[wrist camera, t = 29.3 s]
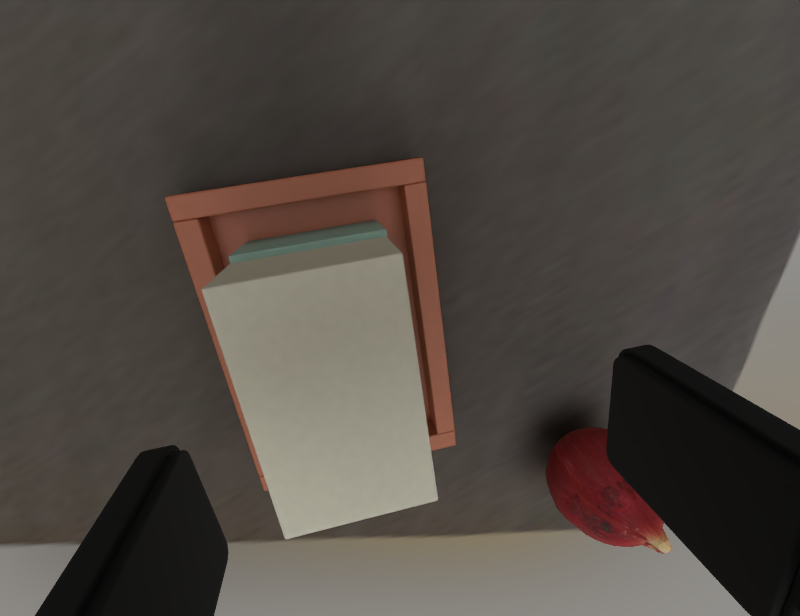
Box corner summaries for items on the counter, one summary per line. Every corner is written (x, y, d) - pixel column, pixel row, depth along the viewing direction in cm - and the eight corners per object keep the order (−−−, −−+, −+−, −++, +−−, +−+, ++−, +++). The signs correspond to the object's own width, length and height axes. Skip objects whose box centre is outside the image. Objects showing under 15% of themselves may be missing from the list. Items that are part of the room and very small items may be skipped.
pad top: (229, 263, 15) (199, 288, 11) (387, 235, 15) (402, 252, 12) (292, 474, 18) (284, 540, 15) (419, 443, 19) (438, 501, 15)
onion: (517, 479, 26) (593, 602, 18) (532, 404, 24) (622, 506, 17) (595, 473, 27) (697, 587, 20) (615, 400, 25) (735, 495, 18)
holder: (181, 194, 17) (163, 196, 15) (413, 158, 18) (423, 156, 16) (269, 464, 22) (263, 491, 20) (446, 422, 24) (456, 445, 22)
